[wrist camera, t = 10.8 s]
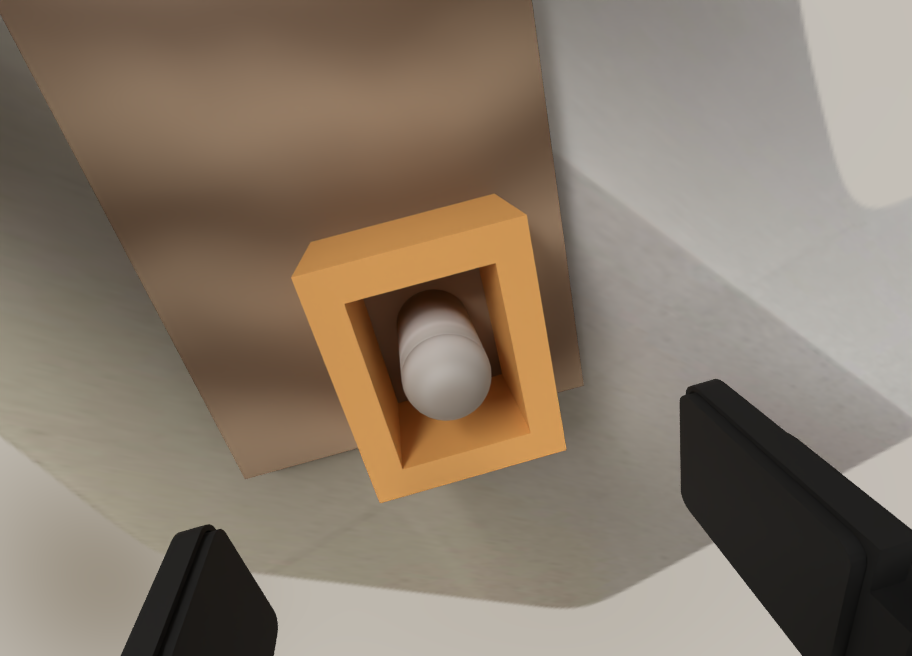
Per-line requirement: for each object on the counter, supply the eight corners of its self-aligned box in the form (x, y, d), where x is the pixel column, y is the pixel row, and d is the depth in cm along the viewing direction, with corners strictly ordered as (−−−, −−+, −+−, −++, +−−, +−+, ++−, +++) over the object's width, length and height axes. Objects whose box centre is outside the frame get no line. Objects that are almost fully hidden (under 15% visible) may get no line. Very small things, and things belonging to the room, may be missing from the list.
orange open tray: (310, 242, 18) (291, 277, 14) (494, 193, 19) (526, 214, 15) (379, 432, 22) (380, 503, 18) (532, 389, 22) (566, 450, 18)
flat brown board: (-42, -123, 14) (-420, -338, 8) (484, -238, 15) (571, -535, 8) (252, 458, 23) (201, 597, 17) (572, 370, 24) (648, 469, 17)
